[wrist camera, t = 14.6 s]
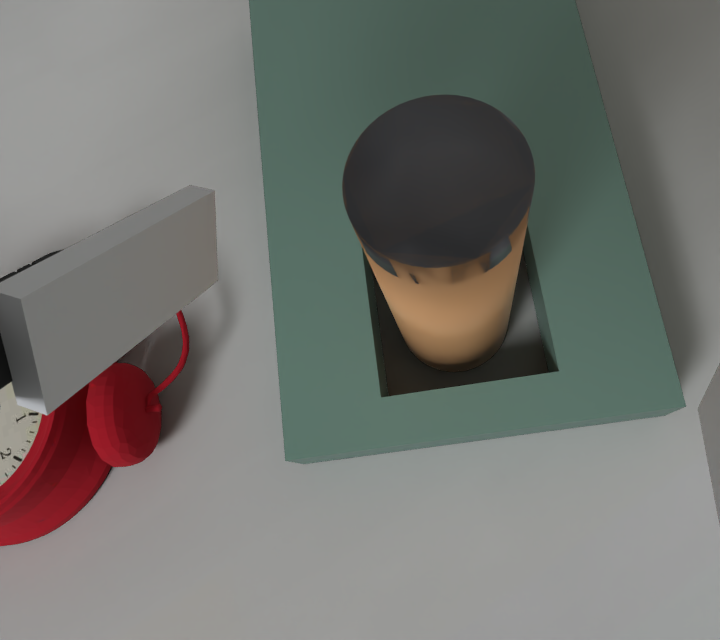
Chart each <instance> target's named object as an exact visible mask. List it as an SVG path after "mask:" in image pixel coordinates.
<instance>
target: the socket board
mask: <svg viewBox="0 0 720 640" xmlns="http://www.w3.org/2000/svg"><path fill="white" fill-rule="evenodd" d="M249 7H250V20H251V32H252V45H253V58H254V70H255V83H256V96H257V108H258V121H259V133H260V146H261V159H262V171H263V184H264V197H265V209H266V222H267V235H268V247H269V260H270V272H271V285H272V298H273V310H274V323H275V336H276V348H277V361H278V374H279V386H280V399H281V411H282V424H283V437H284V449H285V461H289V462H295V463H300V464H308V463H315V462H323V461H330V460H338V459H345V458H353V457H360V456H368V455H375V454H382V453H390V452H397V451H405V450H412V449H420V448H427V447H435V446H442V445H450V444H457V443H464V442H472V441H479V440H487V439H494V438H502V437H509V436H517V435H524V434H531V433H539V432H546V431H554V430H561V429H569V428H576V427H584V426H591V425H599V424H606V423H613V422H621V421H628V420H636V419H643V418H651V417H658V416H665V415H667V414H670V413H672V412H674V411H677V410H679V409H681V408H684V407H686V404H685V400H684V397H683V393H682V389H681V386H680V382H679V378H678V375H677V371H676V367H675V364H674V360H673V356H672V353H671V349H670V345H669V342H668V338H667V334H666V331H665V327H664V324H663V320H662V316H661V313H660V309H659V305H658V302H657V298H656V294H655V291H654V287H653V283H652V280H651V276H650V272H649V269H648V265H647V261H646V258H645V254H644V250H643V247H642V243H641V239H640V236H639V232H638V228H637V225H636V221H635V218H634V214H633V210H632V207H631V203H630V199H629V196H628V192H627V188H626V185H625V181H624V177H623V174H622V170H621V166H620V163H619V159H618V155H617V152H616V148H615V144H614V141H613V137H612V133H611V130H610V126H609V122H608V119H607V115H606V112H605V108H604V104H603V101H602V97H601V93H600V90H599V86H598V82H597V79H596V75H595V71H594V68H593V64H592V60H591V57H590V53H589V49H588V46H587V42H586V38H585V35H584V31H583V27H582V24H581V20H580V16H579V13H578V9H577V6H576V2H575V0H249ZM431 95H459V96H464V97H470V98H473V99H476V100H479V101H482V102H484V103H486V104H489V105H491V106H493V107H494V108H496V109H498V110H499V111H501V112H502V113H503V114H505V115H506V116H507V117H508V118H510V119H511V120H512V121H513V123H514V124H515V125H516V126H517V127H518V128H519V129H520V131H521V132H522V134H523V135H524V137H525V139H526V141H527V143H528V145H529V147H530V149H531V153H532V156H533V160H534V166H535V185H534V192H533V197H532V203H531V208H530V213H529V218H528V223H527V229H526V234H525V239H524V244H523V253H524V258H525V263H526V267H527V272H528V277H529V282H530V286H531V291H532V296H533V301H534V305H535V310H536V315H537V320H538V324H539V329H540V334H541V339H542V343H543V348H544V353H545V358H546V362H547V367H548V372H549V373H544V374H537V375H530V376H524V377H517V378H510V379H503V380H496V381H490V382H483V383H476V384H469V385H462V386H456V387H449V388H442V389H435V390H428V391H422V392H415V393H408V394H401V395H394V396H388V388H387V381H386V373H385V365H384V358H383V350H382V343H381V335H380V327H379V320H378V312H377V304H376V297H375V289H374V282H373V274H372V268H371V266H370V263H369V261H368V259H367V257H366V255H365V252H364V250H363V248H362V246H361V244H360V241H359V239H358V237H357V235H356V233H355V231H354V228H353V226H352V224H351V222H350V220H349V217H348V215H347V212H346V209H345V206H344V200H343V194H342V180H343V172H344V168H345V164H346V161H347V158H348V156H349V153H350V151H351V149H352V147H353V145H354V144H355V142H356V141H357V139H358V138H359V136H360V135H361V134H362V132H363V131H364V130H365V129H366V128H367V127H368V126H369V125H370V124H371V123H372V122H373V121H374V120H375V119H377V118H378V117H379V116H380V115H382V114H383V113H385V112H386V111H388V110H390V109H391V108H393V107H395V106H397V105H399V104H402V103H404V102H407V101H409V100H412V99H416V98H420V97H424V96H431Z"/></svg>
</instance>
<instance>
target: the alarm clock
mask: <svg viewBox="0 0 720 640" xmlns="http://www.w3.org/2000/svg"><path fill="white" fill-rule="evenodd" d="M176 314H177V317H178V320H179V324H180V327H181V331H182V338H183V348H182V355H181V358H180V360H179V363H178V365H177V366H176V368H175V369H174V371H173V372H172V373H171V374H170V375H169V376H168V377H167V378H166V379H165V380H164V381H163V382H162V383H161V384H160V385H159V386H158V387H156V388H155V386H154V384H153V382H152V381H151V379H150V378H149V377H148V375H147V374H146V373H145V372H144V371H143V370H142V369H140V368H138V367H136V366H133V365H131V364H127V363H117V361H116V362H114V363H113V364H112V365H111V366H109V367H108V368H107V369H106V370H104V371H103V372H102V373H100V374H99V375H98V376H97V377H95V378H94V379H93V380H92V381H90V382H89V383H88V384H87V385H85V386H84V387H83V388H82V389H80V390H79V391H78V392H76V393H75V394H74V395H73V396H71V397H70V398H69V399H68V400H66V401H65V402H64V403H63V404H61V405H60V406H59V407H57V408H56V409H55V410H54V411H52V412H51V413H50V414H49V415H45V414H42V413H39V412H36V411H33V410H31V409H28V408H25V407H22V406H19V405H17V401H16V397H15V394H14V390H13V386H12V382H10V383H9V384H7V385H6V386H5V387H3V388H2V389H0V406H1V407H0V546H5V545H13V544H19V543H24V542H28V541H31V540H33V539H36V538H39V537H41V536H44V535H46V534H48V533H50V532H52V531H53V530H55V529H57V528H58V527H60V526H61V525H63V524H64V523H66V522H67V521H68V520H70V519H71V518H72V517H73V516H74V515H76V514H77V513H78V512H79V511H80V510H81V509H82V508H83V507H84V506H85V505H86V504H87V503H88V501H89V500H90V499H91V498H92V497H93V495H94V494H95V493H96V491H97V490H98V489H99V487H100V486H101V484H102V483H103V481H104V480H105V478H106V476H107V474H108V472H109V470H110V468H111V466H113V467H126V466H131V465H134V464H137V463H140V462H142V461H143V460H145V459H146V458H147V457H148V456H149V455H150V454H151V453H152V452H153V450H154V449H155V447H156V445H157V443H158V439H159V435H160V431H161V410H162V406H161V405H160V402H159V396H158V393H160V392H161V391H162V390H164V389H165V388H166V387H167V386H168V385H169V384H170V383H171V382H172V381H173V380H174V379H175V378H176V377H177V376H178V374H179V373H180V372H181V370H182V369H183V367H184V365H185V363H186V360H187V356H188V352H189V335H188V329H187V325H186V322H185V319H184V316H183V313H182V311H181V310H180V311H179V312H178V313H176Z"/></svg>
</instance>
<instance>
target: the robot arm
mask: <svg viewBox="0 0 720 640" xmlns="http://www.w3.org/2000/svg"><path fill="white" fill-rule="evenodd" d="M217 281H218V269H217V240H216V212H215V191H214V190H210V189H206V188H201V187H197V186H192V185H189V186H187V187H185V188H183V189H181V190H179V191H177V192H175V193H173V194H172V195H170V196H168V197H166V198H164V199H162V200H160V201H158V202H156V203H154V204H152V205H150V206H148V207H146V208H144V209H142V210H140V211H138V212H136V213H134V214H133V215H131V216H129V217H127V218H125V219H123V220H121V221H119V222H117V223H115V224H113V225H111V226H109V227H107V228H105V229H103V230H101V231H99V232H97V233H96V234H94V235H92V236H90V237H88V238H86V239H84V240H82V241H80V242H78V243H76V244H74V245H72V246H70V247H68V248H66V249H64V250H60V251H56V252H53V253H50V254H48V255H46V256H44V257H42V258H40V259H38V260H36V261H34V262H32V265H30V264H28V265H26V266H24V267H22V268H20V269H18V271H17V272H12V273H10V274H8V275H6V276H4V277H2V278H0V389H2V388H3V387H5V386H6V385H7V384H9V383H10V382H12V386H13V390H14V394H15V397H16V401H17V405H19V406H22V407H25V408H28V409H31V410H33V411H36V412H39V413H42V414H45V415H49V414H50V413H51V412H52V411H54V410H55V409H56V408H57V407H59V406H60V405H61V404H63V403H64V402H65V401H66V400H68V399H69V398H70V397H71V396H73V395H74V394H75V393H76V392H78V391H79V390H80V389H82V388H83V387H84V386H85V385H87V384H88V383H89V382H90V381H92V380H93V379H94V378H95V377H97V376H98V375H99V374H100V373H102V372H103V371H104V370H106V369H107V368H108V367H109V366H111V365H112V364H113V363H114V362H116V361H117V360H118V359H119V358H121V357H122V356H123V355H125V354H126V353H127V352H128V351H130V350H131V349H132V348H133V347H135V346H136V345H137V344H138V343H140V342H141V341H142V340H144V339H145V338H146V337H147V336H149V335H150V334H151V333H152V332H154V331H155V330H156V329H157V328H159V327H160V326H161V325H162V324H164V323H165V322H166V321H168V320H169V319H170V318H171V317H173V316H174V315H175V314H176V313H178V312H179V311H180V310H181V309H183V308H184V307H185V306H187V305H188V304H189V303H190V302H192V301H193V300H194V299H195V298H197V297H198V296H199V295H200V294H202V293H203V292H204V291H206V290H207V289H208V288H209V287H211V286H212V285H213V284H214V283H216V282H217ZM0 407H1V406H0ZM698 412H699V418H700V423H701V428H702V434H703V439H704V444H705V450H706V455H707V460H708V466H709V471H710V476H711V482H712V487H713V492H714V498H715V503H716V508H717V514H718V519H719V524H720V364H719V366H718V368H717V370H716V372H715V374H714V376H713V378H712V380H711V382H710V385H709V387H708V389H707V391H706V393H705V395H704V397H703V399H702V401H701V403H700V405H699V407H698Z"/></svg>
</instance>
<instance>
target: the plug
mask: <svg viewBox="0 0 720 640" xmlns="http://www.w3.org/2000/svg"><path fill="white" fill-rule="evenodd" d="M534 185H535V166H534V160H533V156H532V153H531V149H530V147H529V145H528V143H527V141H526V139H525V137H524V135H523V134H522V132H521V131H520V129H519V128H518V127H517V126H516V125H515V124H514V123H513V121H512V120H511V119H510V118H508V117H507V116H506V115H505V114H503V113H502V112H501V111H499V110H498V109H496V108H494V107H493V106H491V105H489V104H486V103H484V102H482V101H479V100H476V99H473V98H470V97H464V96H459V95H431V96H424V97H420V98H416V99H412V100H409V101H407V102H404V103H402V104H399V105H397V106H395V107H393V108H391V109H390V110H388V111H386V112H385V113H383V114H382V115H380V116H379V117H378V118H377V119H375V120H374V121H373V122H372V123H371V124H370V125H369V126H368V127H367V128H366V129H365V130H364V131H363V132H362V134H361V135H360V136H359V138H358V139H357V141H356V142H355V144H354V145H353V147H352V149H351V151H350V153H349V156H348V158H347V161H346V164H345V168H344V172H343V180H342V194H343V200H344V206H345V209H346V212H347V215H348V217H349V220H350V222H351V224H352V226H353V228H354V231H355V233H356V235H357V237H358V239H359V241H360V244H361V246H362V248H363V250H364V252H365V255H366V257H367V259H368V261H369V263H370V266H371V268H372V270H373V272H374V274H375V277H376V279H377V281H378V283H379V285H380V288H381V290H382V292H383V294H384V296H385V299H386V301H387V303H388V305H389V307H390V310H391V312H392V314H393V316H394V318H395V321H396V323H397V325H398V327H399V329H400V331H401V334H402V336H403V338H404V340H405V342H406V344H407V346H408V348H409V349H410V350H411V352H412V353H413V354H414V355H415V356H416V357H417V358H418V359H419V360H420V361H422V362H423V363H425V364H426V365H428V366H430V367H433V368H435V369H438V370H442V371H449V372H458V371H465V370H470V369H472V368H475V367H477V366H479V365H481V364H483V363H485V362H486V361H488V360H489V359H490V358H491V357H492V356H493V355H494V354H495V353H496V352H497V351H498V349H499V348H500V346H501V345H502V343H503V341H504V338H505V335H506V332H507V328H508V322H509V317H510V312H511V307H512V302H513V296H514V291H515V286H516V281H517V276H518V270H519V265H520V260H521V255H522V249H523V244H524V239H525V234H526V229H527V223H528V218H529V213H530V208H531V203H532V197H533V192H534Z"/></svg>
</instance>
